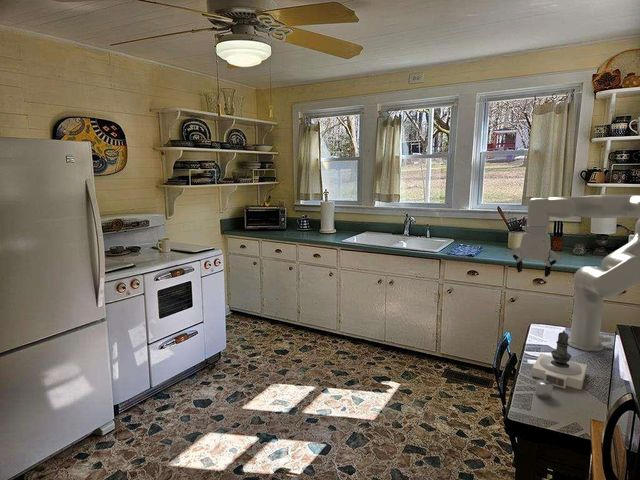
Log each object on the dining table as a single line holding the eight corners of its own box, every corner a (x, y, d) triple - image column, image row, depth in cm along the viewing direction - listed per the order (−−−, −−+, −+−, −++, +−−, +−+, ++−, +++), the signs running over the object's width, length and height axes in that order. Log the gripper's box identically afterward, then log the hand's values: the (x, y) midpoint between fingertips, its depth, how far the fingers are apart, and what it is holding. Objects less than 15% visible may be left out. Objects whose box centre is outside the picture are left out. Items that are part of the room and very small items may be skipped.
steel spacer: (546, 391, 124) (547, 379, 123) (554, 399, 120) (556, 387, 119) (532, 391, 124) (533, 379, 123) (540, 399, 120) (541, 387, 119)
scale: (539, 361, 145) (540, 351, 144) (586, 373, 136) (587, 363, 136) (529, 379, 132) (530, 368, 131) (580, 393, 123) (581, 382, 123)
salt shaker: (573, 369, 131) (577, 334, 129) (553, 367, 132) (557, 332, 130) (566, 361, 137) (570, 327, 135) (547, 359, 138) (551, 326, 136)
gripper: (509, 229, 157) (506, 271, 160) (560, 233, 145) (555, 279, 148) (516, 227, 162) (512, 269, 165) (565, 231, 151) (560, 276, 153)
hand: (532, 274), depth 156 cm, fingers open, 9 cm apart
